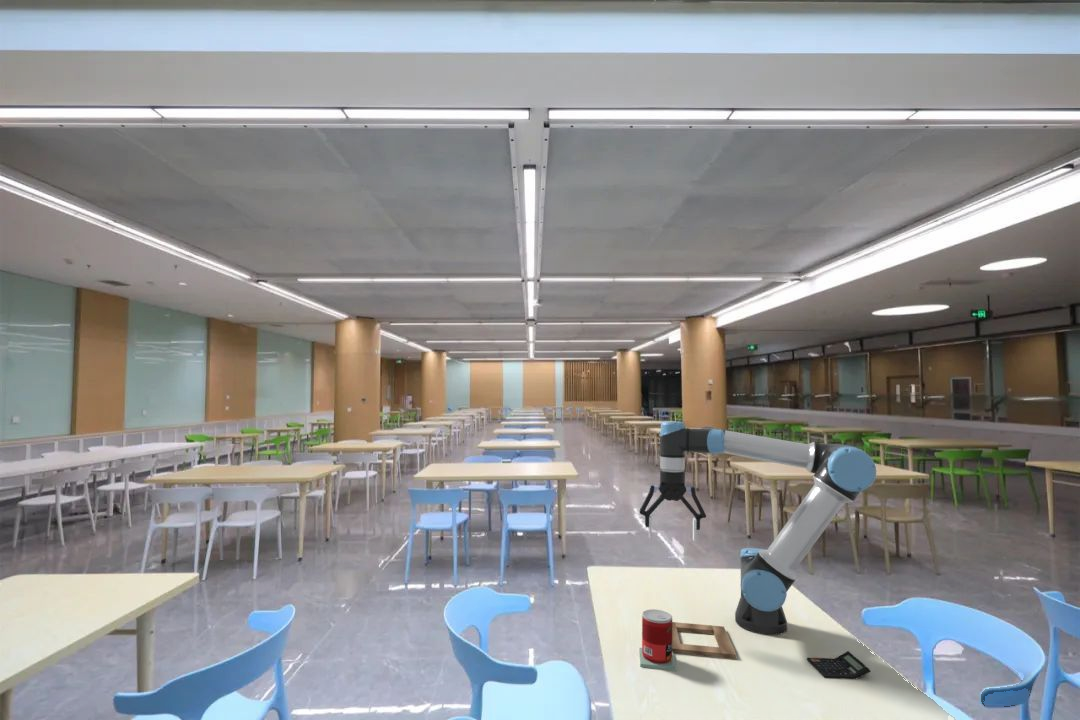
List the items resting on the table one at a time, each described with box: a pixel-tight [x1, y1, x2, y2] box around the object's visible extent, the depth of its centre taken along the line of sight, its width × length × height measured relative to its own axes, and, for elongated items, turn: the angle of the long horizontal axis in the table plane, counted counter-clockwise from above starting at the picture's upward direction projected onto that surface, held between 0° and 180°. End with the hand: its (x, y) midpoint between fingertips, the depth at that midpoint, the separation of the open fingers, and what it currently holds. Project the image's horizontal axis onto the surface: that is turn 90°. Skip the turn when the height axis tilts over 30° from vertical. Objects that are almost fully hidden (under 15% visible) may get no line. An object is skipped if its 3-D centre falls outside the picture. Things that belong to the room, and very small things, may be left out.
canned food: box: [641, 608, 673, 664], centre depth 139 cm, size 8×8×11 cm
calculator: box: [806, 650, 871, 680], centre depth 136 cm, size 9×12×3 cm
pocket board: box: [672, 621, 737, 660], centre depth 151 cm, size 18×18×1 cm
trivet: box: [638, 647, 677, 671], centre depth 139 cm, size 9×9×1 cm
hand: (672, 539), depth 162 cm, fingers open, 13 cm apart
